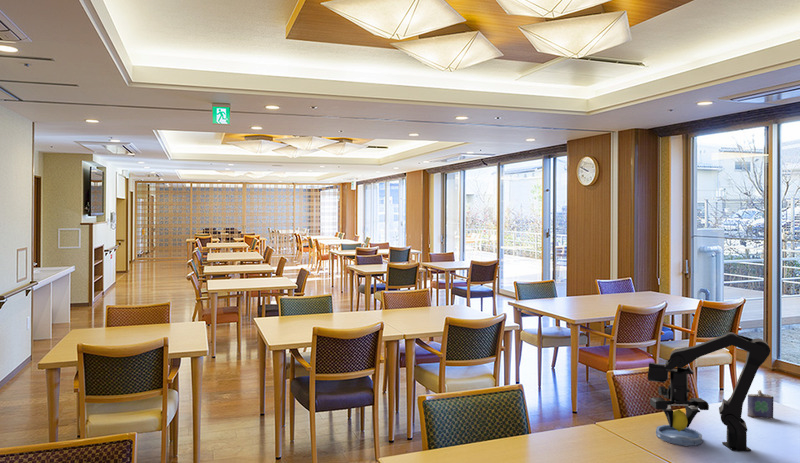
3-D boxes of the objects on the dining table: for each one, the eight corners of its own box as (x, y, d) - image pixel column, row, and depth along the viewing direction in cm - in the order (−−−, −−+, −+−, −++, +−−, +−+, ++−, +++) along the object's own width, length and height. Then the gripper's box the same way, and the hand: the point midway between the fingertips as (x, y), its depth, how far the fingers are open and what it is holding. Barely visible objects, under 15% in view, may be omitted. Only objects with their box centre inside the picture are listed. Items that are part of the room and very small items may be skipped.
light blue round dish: (710, 446, 185) (710, 440, 185) (667, 445, 186) (667, 439, 186) (689, 430, 200) (689, 425, 200) (649, 429, 201) (649, 424, 201)
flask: (748, 417, 215) (748, 390, 215) (745, 414, 218) (746, 388, 218) (774, 419, 213) (774, 392, 213) (771, 416, 216) (771, 390, 216)
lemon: (683, 428, 196) (683, 407, 196) (690, 434, 190) (690, 412, 190) (668, 428, 196) (668, 406, 196) (674, 434, 191) (674, 411, 191)
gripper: (693, 378, 201) (693, 419, 201) (643, 378, 202) (643, 418, 201) (709, 387, 190) (709, 430, 190) (656, 386, 190) (656, 429, 190)
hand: (679, 427), depth 193 cm, fingers closed on lemon, 5 cm apart
